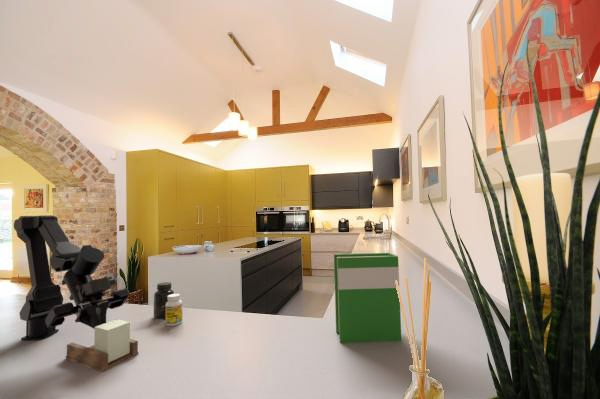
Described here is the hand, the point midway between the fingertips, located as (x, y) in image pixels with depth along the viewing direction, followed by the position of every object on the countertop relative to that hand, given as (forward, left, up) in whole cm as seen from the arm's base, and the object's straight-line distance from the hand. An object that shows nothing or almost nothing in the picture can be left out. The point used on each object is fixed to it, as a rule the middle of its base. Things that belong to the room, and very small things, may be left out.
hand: (104, 331), depth 74 cm
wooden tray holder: (-1, 0, -7) cm, 7 cm away
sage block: (+3, -2, -7) cm, 7 cm away
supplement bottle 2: (+9, +22, -7) cm, 25 cm away
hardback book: (+73, +9, -7) cm, 73 cm away
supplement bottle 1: (+2, +29, -7) cm, 30 cm away
